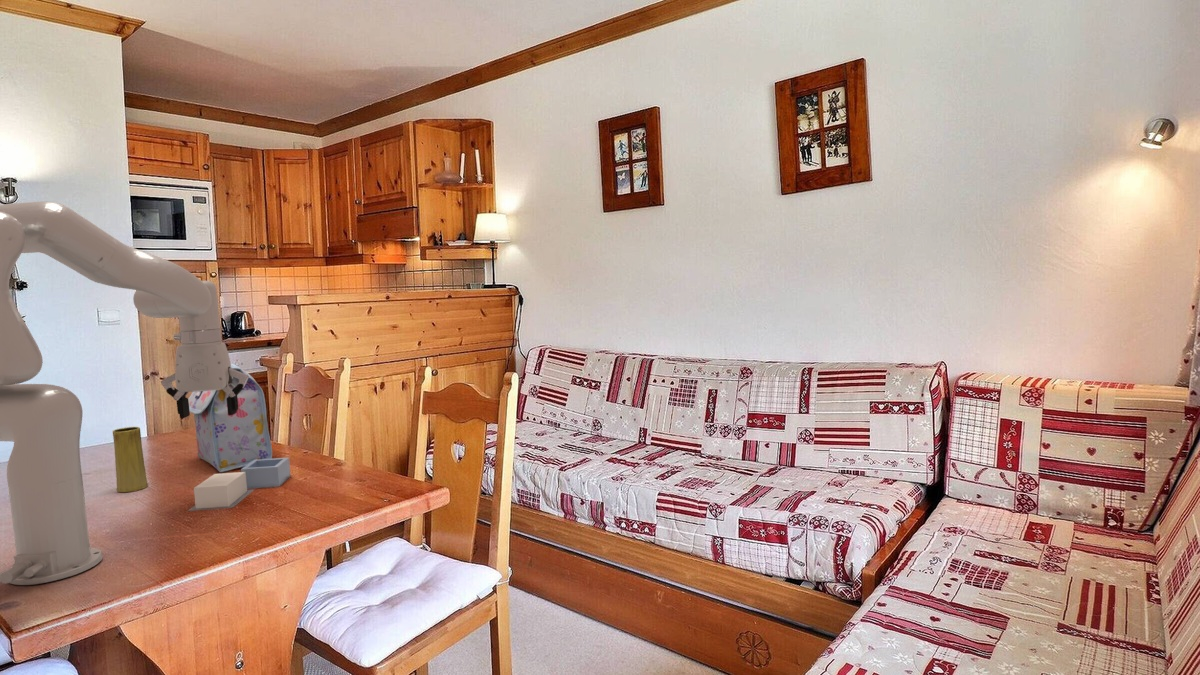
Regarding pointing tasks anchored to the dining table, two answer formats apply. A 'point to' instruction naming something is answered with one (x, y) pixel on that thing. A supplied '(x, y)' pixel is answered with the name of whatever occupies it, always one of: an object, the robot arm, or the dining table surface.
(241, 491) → the lid
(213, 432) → the lunch bag
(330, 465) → the dining table surface
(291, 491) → the dining table surface
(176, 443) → the dining table surface
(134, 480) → the vase
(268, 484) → the open box
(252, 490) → the mat
